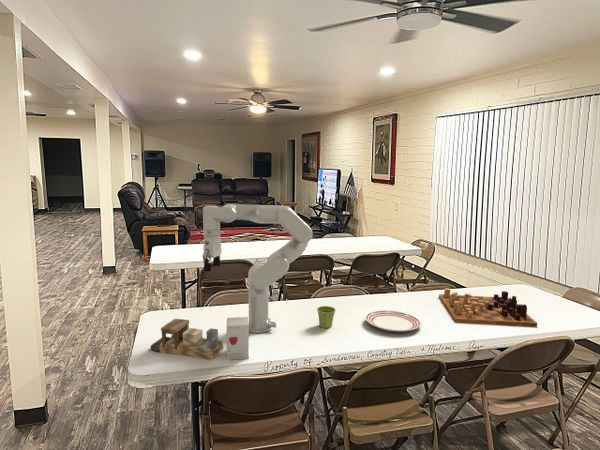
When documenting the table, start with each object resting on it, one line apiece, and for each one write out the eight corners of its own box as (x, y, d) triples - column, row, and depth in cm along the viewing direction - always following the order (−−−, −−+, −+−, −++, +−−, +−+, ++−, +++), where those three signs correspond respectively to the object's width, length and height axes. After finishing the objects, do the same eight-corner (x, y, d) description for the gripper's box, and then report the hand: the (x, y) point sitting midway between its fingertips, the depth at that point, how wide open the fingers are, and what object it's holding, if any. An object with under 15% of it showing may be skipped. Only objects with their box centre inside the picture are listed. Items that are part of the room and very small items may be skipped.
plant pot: (337, 324, 214) (338, 307, 212) (331, 331, 205) (331, 313, 204) (320, 321, 218) (321, 304, 216) (313, 327, 209) (313, 310, 208)
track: (223, 348, 184) (223, 324, 183) (212, 360, 174) (211, 334, 172) (164, 341, 191) (163, 317, 189) (150, 351, 180) (149, 326, 179)
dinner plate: (397, 312, 233) (397, 306, 232) (432, 330, 208) (433, 324, 208) (354, 319, 221) (354, 313, 220) (386, 340, 196) (387, 333, 196)
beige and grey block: (219, 344, 182) (219, 328, 181) (213, 350, 176) (212, 333, 175) (189, 341, 185) (189, 324, 184) (182, 346, 179) (182, 330, 178)
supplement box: (226, 360, 174) (226, 325, 172) (226, 350, 183) (226, 317, 180) (249, 359, 176) (249, 324, 173) (248, 349, 184) (247, 316, 182)
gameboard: (438, 298, 259) (439, 283, 257) (507, 301, 254) (509, 287, 253) (455, 323, 219) (456, 306, 218) (536, 328, 215) (538, 310, 214)
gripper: (211, 236, 188) (211, 273, 190) (226, 230, 204) (227, 264, 207) (195, 235, 189) (196, 272, 192) (212, 229, 206) (212, 263, 209)
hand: (212, 268), depth 199 cm, fingers open, 9 cm apart
